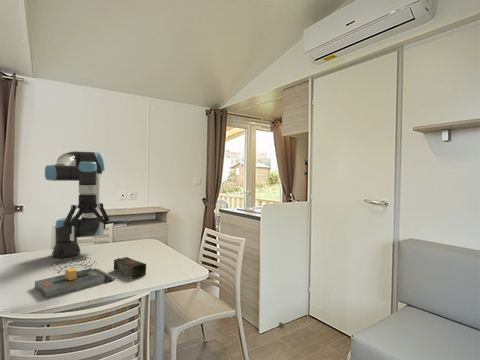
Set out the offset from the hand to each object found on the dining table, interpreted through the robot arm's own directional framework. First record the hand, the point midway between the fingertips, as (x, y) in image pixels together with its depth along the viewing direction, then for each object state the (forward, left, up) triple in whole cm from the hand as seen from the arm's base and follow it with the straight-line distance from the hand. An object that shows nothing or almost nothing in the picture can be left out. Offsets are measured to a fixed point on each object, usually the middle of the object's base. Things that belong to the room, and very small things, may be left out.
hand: (87, 238), depth 135 cm
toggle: (0, -7, -18) cm, 19 cm away
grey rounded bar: (0, +7, -21) cm, 22 cm away
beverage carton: (+4, +20, -21) cm, 29 cm away
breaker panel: (0, -7, -21) cm, 22 cm away
